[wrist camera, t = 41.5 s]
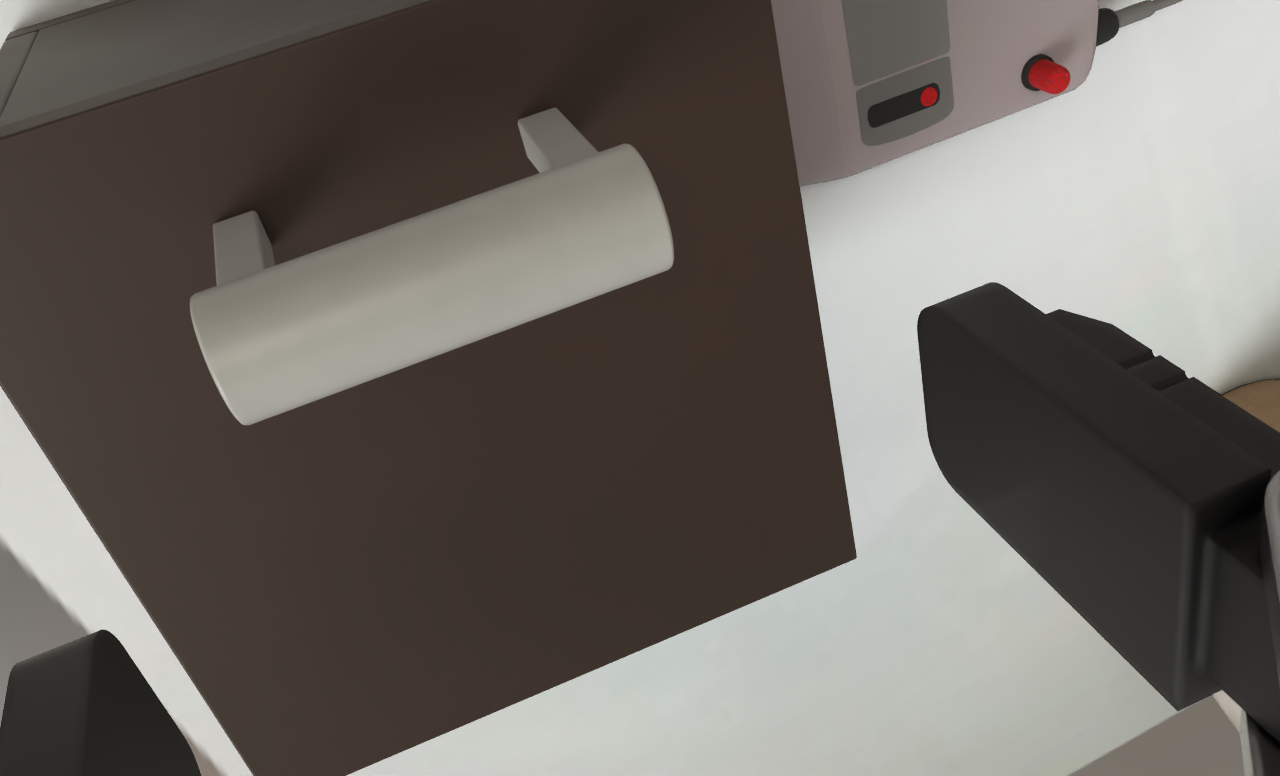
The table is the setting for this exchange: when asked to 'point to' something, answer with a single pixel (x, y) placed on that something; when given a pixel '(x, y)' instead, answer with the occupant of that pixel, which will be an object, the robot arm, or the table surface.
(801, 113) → the handheld electronic device
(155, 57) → the chest
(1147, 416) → the robot arm
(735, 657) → the table surface
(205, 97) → the lid
